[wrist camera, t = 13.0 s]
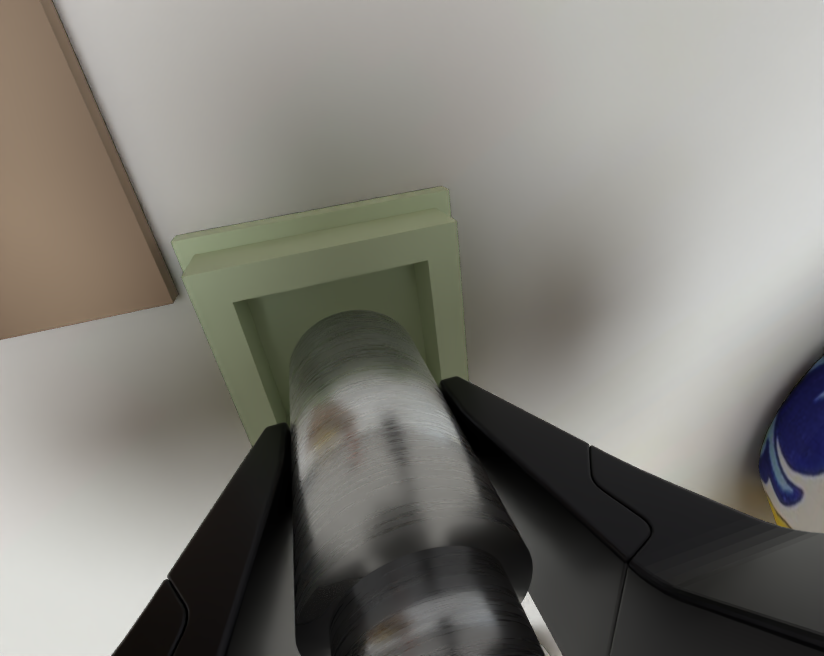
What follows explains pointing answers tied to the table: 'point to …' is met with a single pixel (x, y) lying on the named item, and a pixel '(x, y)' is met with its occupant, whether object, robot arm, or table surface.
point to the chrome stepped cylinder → (394, 507)
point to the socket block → (63, 190)
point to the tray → (324, 288)
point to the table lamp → (797, 456)
